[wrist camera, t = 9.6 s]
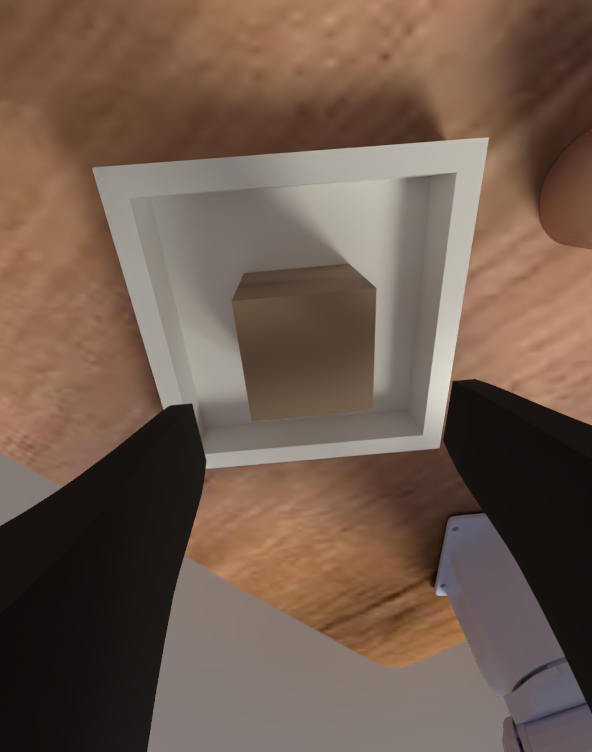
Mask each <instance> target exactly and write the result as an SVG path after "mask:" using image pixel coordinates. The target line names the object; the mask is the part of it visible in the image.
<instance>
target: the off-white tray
mask: <svg viewBox="0 0 592 752" xmlns="http://www.w3.org/2000/svg"><path fill="white" fill-rule="evenodd" d="M488 140H489V137H487V138H474V139H461V140H448V141H435V142H421V143H408V144H395V145H382V146H369V147H356V148H342V149H329V150H316V151H303V152H290V153H277V154H264V155H250V156H237V157H224V158H211V159H198V160H185V161H172V162H158V163H145V164H132V165H119V166H106V167H93V168H92V170H93V174H94V177H95V180H96V184H97V187H98V190H99V194H100V197H101V201H102V204H103V207H104V211H105V214H106V217H107V221H108V224H109V228H110V231H111V234H112V238H113V241H114V244H115V248H116V251H117V255H118V258H119V261H120V265H121V268H122V271H123V275H124V278H125V282H126V285H127V288H128V292H129V295H130V298H131V302H132V305H133V309H134V312H135V315H136V319H137V322H138V326H139V329H140V332H141V336H142V339H143V342H144V346H145V349H146V353H147V356H148V359H149V363H150V366H151V369H152V373H153V376H154V380H155V383H156V386H157V390H158V393H159V396H160V400H161V403H162V407H163V410H164V409H165V408H167V407H168V406H170V405H180V404H191V403H192V405H193V409H194V413H195V417H196V421H197V425H198V429H199V433H200V437H201V441H202V445H203V449H204V453H205V457H206V461H207V462H206V469H209V468H220V467H232V466H243V465H255V464H266V463H277V462H289V461H300V460H312V459H323V458H335V457H346V456H358V455H369V454H380V453H392V452H403V451H415V450H426V449H438V448H439V447H440V441H441V435H442V428H443V422H444V416H445V410H446V403H447V397H448V391H449V385H450V378H451V372H452V366H453V359H454V353H455V347H456V341H457V334H458V328H459V322H460V316H461V309H462V303H463V297H464V291H465V284H466V278H467V272H468V266H469V259H470V253H471V247H472V240H473V234H474V228H475V222H476V215H477V209H478V203H479V197H480V190H481V184H482V178H483V172H484V165H485V159H486V153H487V146H488ZM339 264H350V265H351V266H352V267H354V268H355V269H356V270H357V271H358V272H359V273H360V274H361V275H363V276H364V277H365V278H366V279H367V280H368V281H369V282H370V283H371V284H373V285H374V286H375V287H376V288H377V290H376V322H375V354H374V386H373V410H366V411H355V412H345V413H334V414H323V415H313V416H302V417H291V418H280V419H270V420H259V421H251V415H250V409H249V403H248V397H247V391H246V385H245V379H244V373H243V367H242V361H241V355H240V349H239V343H238V337H237V331H236V325H235V319H234V313H233V307H232V302H231V301H232V299H233V297H234V294H235V292H236V290H237V288H238V285H239V283H240V281H241V278H242V276H243V274H244V273H250V272H261V271H272V270H283V269H294V268H306V267H317V266H328V265H339Z"/></svg>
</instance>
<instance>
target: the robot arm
mask: <svg viewBox="0 0 592 752" xmlns="http://www.w3.org/2000/svg"><path fill="white" fill-rule="evenodd" d="M443 441H444V443H445V446H446V448H447V450H448V452H449V454H450V457H451V459H452V461H453V463H454V465H455V467H456V469H457V471H458V473H459V474H460V476H461V477H462V479H463V481H464V482H465V484H466V485H467V487H468V488H469V490H470V491H471V493H472V494H473V496H474V497H475V499H476V500H477V502H478V503H479V505H480V506H481V508H482V509H483V511H484V513H481V514H470V515H459V516H452V517H450V518H449V519H448V522H447V527H446V532H445V537H444V542H443V547H442V552H441V557H440V562H439V567H438V572H437V577H436V582H435V587H434V591H435V593H436V595H438V596H445V595H448V597H449V599H450V602H451V604H452V606H453V609H454V611H455V613H456V616H457V618H458V620H459V623H460V625H461V627H462V630H463V632H464V634H465V637H466V639H467V641H468V643H469V646H470V648H471V650H472V653H473V655H474V657H475V660H476V662H477V664H478V667H479V669H480V671H481V673H482V675H483V677H484V679H485V680H486V682H487V684H488V685H489V686H490V687H491V689H492V690H493V691H494V692H495V694H496V695H497V696H498V697H499V698H500V699H501V700H502V701H503V702H504V703H505V704H506V705H507V707H508V709H509V712H510V713H511V716H510V717H507V718H505V720H504V722H503V730H504V731H503V738H502V740H503V748H504V752H592V425H589V424H586V423H584V422H581V421H579V420H576V419H574V418H571V417H569V416H566V415H564V414H561V413H559V412H556V411H554V410H551V409H549V408H546V407H544V406H542V405H539V404H537V403H535V402H532V401H530V400H527V399H525V398H523V397H520V396H518V395H516V394H513V393H511V392H508V391H506V390H504V389H501V388H499V387H496V386H493V385H491V384H488V383H485V382H482V381H479V380H476V379H472V380H460V381H453V383H452V390H451V396H450V402H449V408H448V414H447V420H446V427H445V433H444V439H443ZM206 462H207V461H206V457H205V453H204V449H203V445H202V441H201V437H200V433H199V429H198V425H197V421H196V417H195V413H194V409H193V405H192V403H191V404H180V405H170V406H168V407H167V408H165V409H164V410H163V411H161V412H160V413H159V414H157V415H156V416H155V417H154V418H153V419H151V420H150V421H149V422H148V423H146V424H145V425H144V426H143V427H142V428H140V429H139V430H138V431H137V432H135V433H134V434H133V435H132V436H130V437H129V438H128V439H127V440H125V441H124V442H123V443H122V444H121V445H119V446H118V447H117V448H116V449H114V450H113V451H112V452H110V453H109V454H108V455H106V456H105V457H104V458H102V459H101V460H100V461H98V462H97V463H96V464H94V465H93V466H92V467H90V468H89V469H88V470H86V471H85V472H84V473H82V474H81V475H80V476H78V477H77V478H75V479H74V480H73V481H71V482H70V483H68V484H67V485H65V486H64V487H62V488H61V489H60V490H58V491H57V492H55V493H54V494H52V495H50V496H49V497H47V498H46V499H44V500H43V501H41V502H39V503H38V504H37V505H35V506H33V507H32V508H30V509H28V510H27V511H25V512H24V513H22V514H20V515H19V516H17V517H15V518H14V519H12V520H10V521H8V522H6V523H5V524H3V525H1V526H0V752H147V748H148V741H149V735H150V728H151V721H152V715H153V708H154V702H155V695H156V689H157V683H158V677H159V671H160V666H161V660H162V654H163V648H164V642H165V637H166V631H167V626H168V621H169V616H170V611H171V605H172V600H173V595H174V591H175V587H176V583H177V579H178V575H179V571H180V568H181V564H182V560H183V558H184V554H185V551H186V547H187V544H188V540H189V537H190V534H191V530H192V527H193V523H194V520H195V516H196V513H197V509H198V506H199V502H200V499H201V495H202V489H203V483H204V476H205V469H206Z"/></svg>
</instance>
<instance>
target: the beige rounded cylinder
mask: <svg viewBox="0 0 592 752" xmlns="http://www.w3.org/2000/svg"><path fill="white" fill-rule="evenodd" d="M539 216H540V221H541V224H542V227H543V229H544V230H545V232H546V234H547V235H548V236H549V237H550V238H551V239H553V240H554V241H556V242H557V243H559V244H563V245H567V246H573V247H579V248H585V249H592V129H590V130H588V131H587V132H585V133H583V134H582V135H580V136H579V137H578V138H576V139H575V140H574V141H573V142H572V143H570V144H569V145H568V146H567V147H566V148H565V149H564V150H563V152H562V153H561V154H560V155H559V157H558V158H557V159H556V160H555V162H554V164H553V165H552V167H551V168H550V170H549V172H548V174H547V176H546V178H545V181H544V183H543V186H542V190H541V194H540V199H539Z"/></svg>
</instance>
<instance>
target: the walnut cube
mask: <svg viewBox="0 0 592 752" xmlns="http://www.w3.org/2000/svg"><path fill="white" fill-rule="evenodd" d="M376 290H377V288H376V287H375V286H374V285H373V284H371V283H370V282H369V281H368V280H367V279H366V278H365V277H364V276H363V275H361V274H360V273H359V272H358V271H357V270H356V269H355V268H354V267H352V266H351V265H350V264H339V265H328V266H317V267H306V268H294V269H283V270H272V271H261V272H250V273H244V274H243V276H242V278H241V281H240V283H239V285H238V288H237V290H236V292H235V294H234V297H233V299H232V301H231V302H232V307H233V313H234V319H235V325H236V331H237V337H238V343H239V349H240V355H241V361H242V367H243V373H244V379H245V385H246V391H247V397H248V403H249V409H250V415H251V421H259V420H270V419H280V418H291V417H302V416H313V415H323V414H334V413H345V412H355V411H366V410H373V386H374V354H375V322H376Z"/></svg>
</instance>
